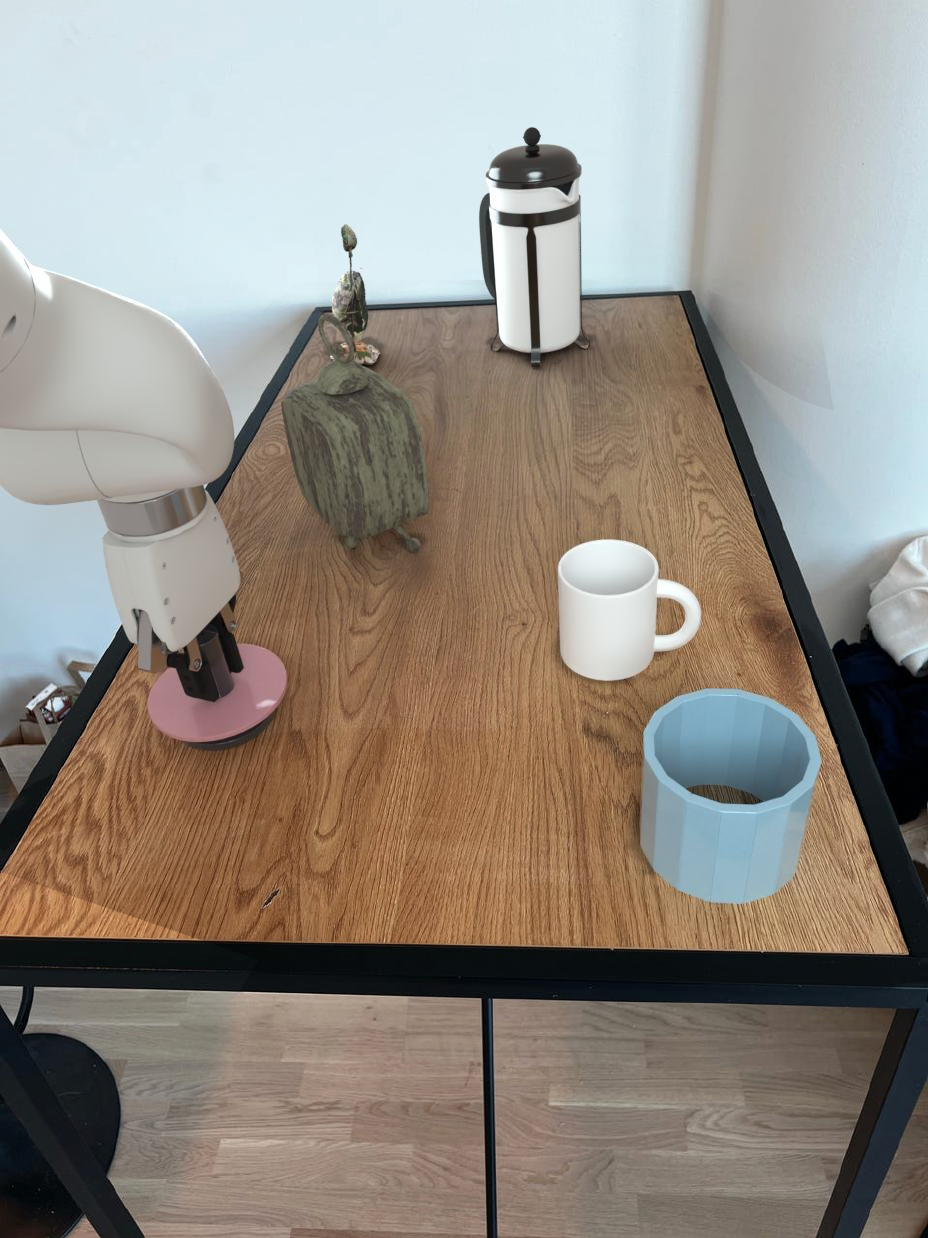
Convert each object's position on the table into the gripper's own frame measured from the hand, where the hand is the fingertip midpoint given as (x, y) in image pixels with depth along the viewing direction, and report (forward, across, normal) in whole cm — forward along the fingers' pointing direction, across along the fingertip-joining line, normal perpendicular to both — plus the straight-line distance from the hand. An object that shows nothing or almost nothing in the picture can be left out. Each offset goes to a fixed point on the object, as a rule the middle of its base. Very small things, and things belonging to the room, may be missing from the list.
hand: (215, 681), depth 80 cm
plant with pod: (+4, -74, -25) cm, 79 cm away
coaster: (+4, 0, 0) cm, 4 cm away
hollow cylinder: (+4, +2, +43) cm, 43 cm away
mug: (+4, -16, +32) cm, 36 cm away
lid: (+1, 0, 0) cm, 1 cm away
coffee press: (+4, -82, +1) cm, 83 cm away
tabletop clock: (+4, -28, 0) cm, 29 cm away
